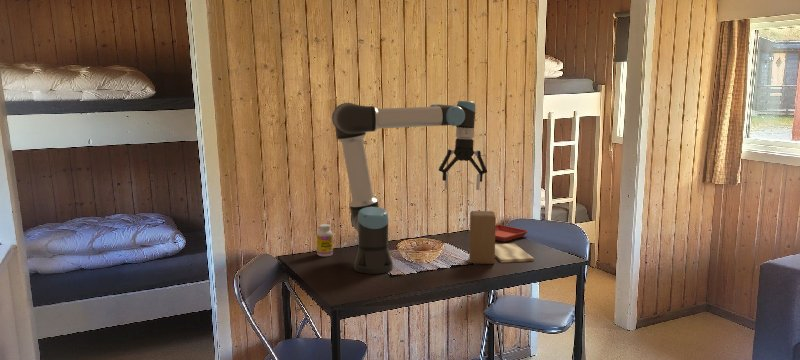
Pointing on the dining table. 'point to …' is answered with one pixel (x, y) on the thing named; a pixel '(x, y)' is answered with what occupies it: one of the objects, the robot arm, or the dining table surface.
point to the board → (511, 253)
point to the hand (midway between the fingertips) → (461, 189)
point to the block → (482, 237)
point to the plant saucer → (508, 233)
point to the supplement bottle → (324, 240)
